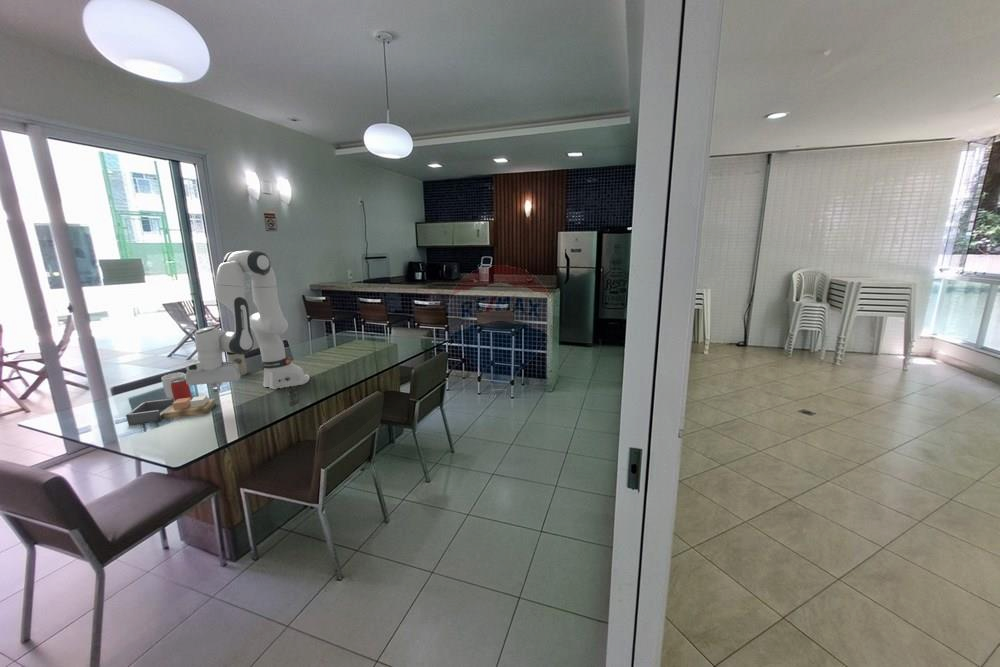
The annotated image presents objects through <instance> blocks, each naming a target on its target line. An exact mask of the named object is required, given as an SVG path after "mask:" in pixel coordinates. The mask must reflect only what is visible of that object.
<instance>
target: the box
mask: <svg viewBox="0 0 1000 667" xmlns="http://www.w3.org/2000/svg"><path fill="white" fill-rule="evenodd" d="M173 402H175V401H174V399H173V398H172V399H169V398H165V399H157V400H149V401H143V402H141V403H140V404H139V405H137V406H136V407H135V408H133V409H132V410H130V411H129V412H128V413H126V414H125V417H126V422H127V425H128V426H129V427H130V426H138V425H144V424H153V423H159V422H162V421H163V420H164V417H163V414H162V413H164V412H165V411H166V410H167V409H168V408H169V407H171V406H172V405H173V404H172V403H173Z"/></svg>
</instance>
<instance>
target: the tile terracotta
mask: <svg viewBox="0 0 1000 667" xmlns="http://www.w3.org/2000/svg"><path fill="white" fill-rule="evenodd" d="M190 401H191V397H190V398H182V399H177V400H176V401H174V402H173V403H172V404H173V408H174V410H175V409H182V408H188V407H189V406H190V405H191V404H190Z"/></svg>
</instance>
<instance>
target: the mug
mask: <svg viewBox="0 0 1000 667" xmlns="http://www.w3.org/2000/svg"><path fill="white" fill-rule="evenodd" d="M180 378H185V379H186V373H184V372H173V373H172V372H171V373H168V374H164V375H163V376H161V383H162V386H163V390H164V394H165V397H166V399H172V398H173V400H174V397H173V393H172V389H171V381H173V380H176V379H180ZM189 387H190V388H191V387H192V385H189Z"/></svg>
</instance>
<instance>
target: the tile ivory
mask: <svg viewBox="0 0 1000 667" xmlns="http://www.w3.org/2000/svg"><path fill="white" fill-rule="evenodd" d="M208 399H209V397H208V395H199V396H194V397H192V400H191V401H190V404H191V407H198V406H204V405H205V404H206V403H207V402H208Z"/></svg>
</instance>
